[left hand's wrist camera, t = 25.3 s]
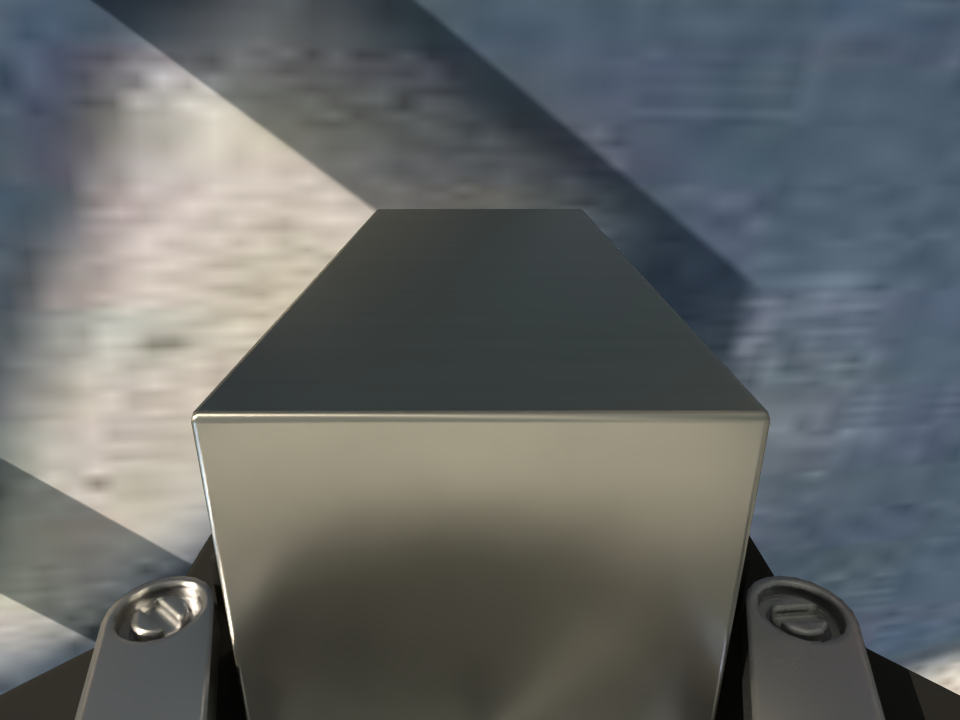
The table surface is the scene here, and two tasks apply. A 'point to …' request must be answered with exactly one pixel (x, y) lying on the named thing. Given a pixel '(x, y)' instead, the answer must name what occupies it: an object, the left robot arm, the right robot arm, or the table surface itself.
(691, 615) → the brick
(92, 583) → the table surface
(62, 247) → the table surface
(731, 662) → the left robot arm
